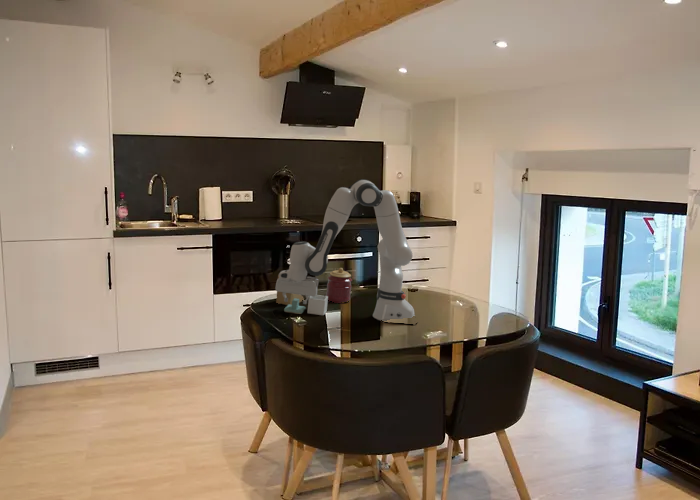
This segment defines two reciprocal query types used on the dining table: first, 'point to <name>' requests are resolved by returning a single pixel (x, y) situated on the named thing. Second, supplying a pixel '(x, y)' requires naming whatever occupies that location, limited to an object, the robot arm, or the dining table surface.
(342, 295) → the canister
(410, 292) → the dining table surface
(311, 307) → the box
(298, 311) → the lid
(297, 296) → the sandwich container
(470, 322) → the dining table surface
